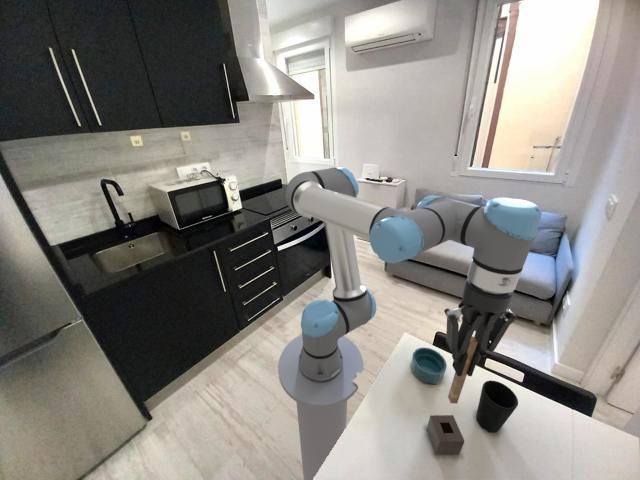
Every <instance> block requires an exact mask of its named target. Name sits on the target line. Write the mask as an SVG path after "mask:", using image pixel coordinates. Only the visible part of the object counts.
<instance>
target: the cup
mask: <svg viewBox="0 0 640 480" xmlns="http://www.w3.org/2000/svg"><path fill="white" fill-rule="evenodd" d="M518 406H519V399H518V397H517V395H516V393H515V392H514V391H513V390H512V389H511V388H510V387H509V386H507V385H506V384H504V383H502V382H500V381H497V380H486V381H484V382H483V384H482V388H481V391H480V396H479V400H478V406H477V411H476V415H475V420H476V422H477V424H478V425H479V426H480V428H481V429H483V430H484V431H486V432H487V433H490V434H497V433H498V432H499V431H500V430H501V429H502V427H503V426H504V425H505V423H506V422H507V421H508V419H509V418H510V417H511V416H512V414H513V413H514V411H515V410H516V409H517V407H518Z"/></svg>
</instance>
